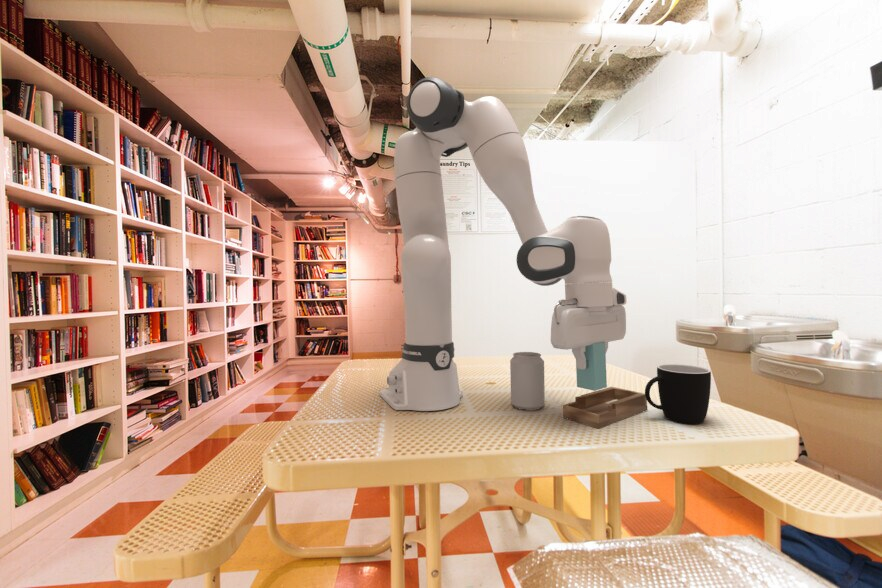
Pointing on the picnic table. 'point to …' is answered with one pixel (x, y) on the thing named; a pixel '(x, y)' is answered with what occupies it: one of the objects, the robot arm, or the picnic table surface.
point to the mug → (682, 392)
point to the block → (593, 368)
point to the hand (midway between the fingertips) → (591, 366)
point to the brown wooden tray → (605, 406)
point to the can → (527, 380)
